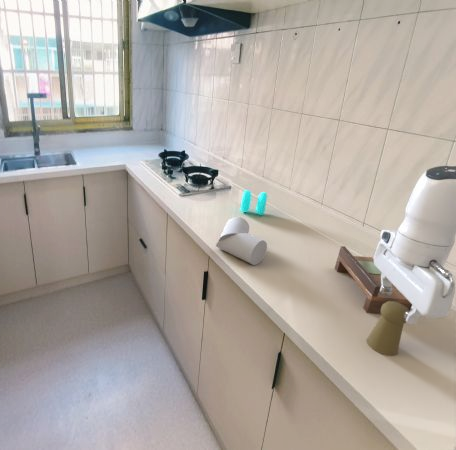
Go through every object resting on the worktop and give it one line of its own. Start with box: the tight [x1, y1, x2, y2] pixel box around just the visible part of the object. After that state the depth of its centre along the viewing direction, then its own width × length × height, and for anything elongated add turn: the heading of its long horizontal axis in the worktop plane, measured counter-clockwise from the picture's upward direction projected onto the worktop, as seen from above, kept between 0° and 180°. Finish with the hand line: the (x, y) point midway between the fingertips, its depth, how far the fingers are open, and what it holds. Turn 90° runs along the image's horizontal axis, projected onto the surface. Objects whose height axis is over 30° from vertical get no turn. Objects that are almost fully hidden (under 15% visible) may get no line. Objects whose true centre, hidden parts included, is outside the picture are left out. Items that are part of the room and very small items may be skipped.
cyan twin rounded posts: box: [240, 189, 268, 216], centre depth 146 cm, size 10×10×10 cm
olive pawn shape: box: [366, 301, 410, 357], centre depth 74 cm, size 6×6×11 cm
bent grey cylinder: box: [215, 216, 268, 266], centre depth 115 cm, size 18×10×20 cm
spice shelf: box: [334, 245, 412, 315], centre depth 95 cm, size 10×22×8 cm, turn 174°
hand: (396, 306), depth 72 cm, fingers open, 8 cm apart
